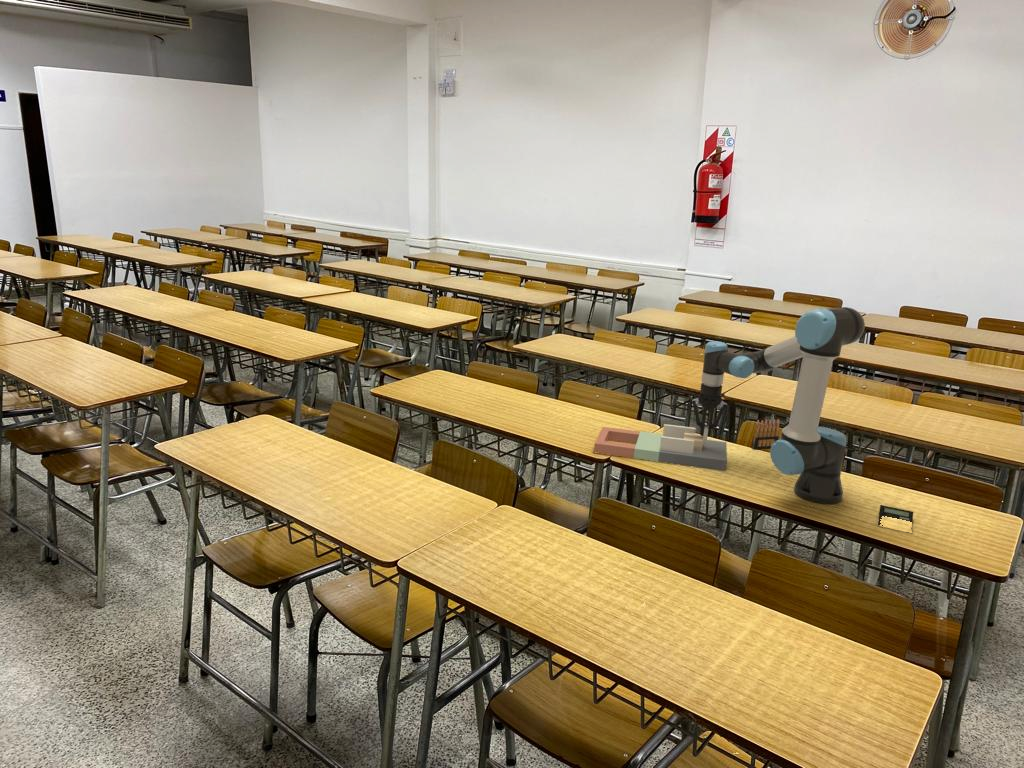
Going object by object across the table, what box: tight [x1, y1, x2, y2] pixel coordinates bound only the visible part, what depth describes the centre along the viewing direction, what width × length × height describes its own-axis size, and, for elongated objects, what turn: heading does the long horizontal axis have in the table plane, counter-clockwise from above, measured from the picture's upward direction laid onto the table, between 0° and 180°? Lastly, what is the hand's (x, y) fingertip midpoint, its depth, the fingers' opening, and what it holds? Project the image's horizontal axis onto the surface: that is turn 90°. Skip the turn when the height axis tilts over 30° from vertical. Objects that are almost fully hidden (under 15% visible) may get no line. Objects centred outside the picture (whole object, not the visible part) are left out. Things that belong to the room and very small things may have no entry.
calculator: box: [877, 504, 914, 526], centre depth 223 cm, size 9×12×3 cm
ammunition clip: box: [751, 418, 780, 451], centre depth 281 cm, size 11×2×12 cm, turn 103°
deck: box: [593, 424, 728, 472], centre depth 272 cm, size 20×48×9 cm, turn 74°
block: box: [684, 433, 703, 451], centre depth 269 cm, size 7×7×4 cm
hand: (704, 443), depth 268 cm, fingers closed
